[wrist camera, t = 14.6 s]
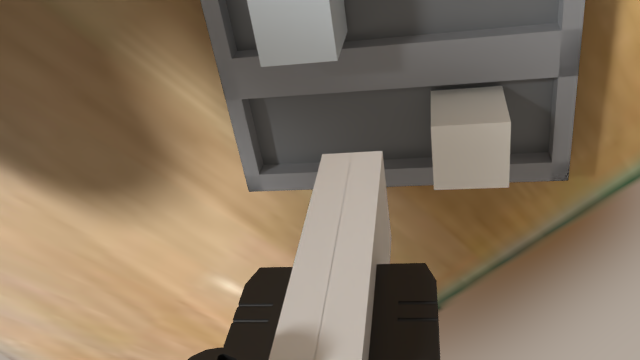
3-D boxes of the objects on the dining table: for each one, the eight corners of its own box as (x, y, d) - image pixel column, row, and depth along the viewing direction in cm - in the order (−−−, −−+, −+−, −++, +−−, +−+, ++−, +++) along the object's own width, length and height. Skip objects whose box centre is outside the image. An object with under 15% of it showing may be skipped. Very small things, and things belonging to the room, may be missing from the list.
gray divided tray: (258, 170, 41) (248, 192, 39) (201, -72, 33) (184, -61, 31) (559, 156, 37) (568, 181, 35) (583, -124, 29) (596, -116, 26)
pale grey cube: (279, 37, 34) (260, 67, 30) (265, -35, 32) (244, -12, 28) (347, 31, 33) (337, 60, 29) (338, -43, 31) (326, -21, 27)
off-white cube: (433, 150, 36) (433, 190, 33) (430, 90, 34) (430, 126, 30) (500, 146, 35) (508, 187, 32) (502, 85, 33) (511, 121, 30)
